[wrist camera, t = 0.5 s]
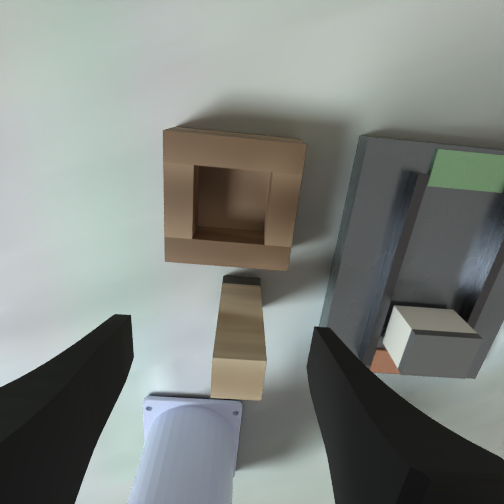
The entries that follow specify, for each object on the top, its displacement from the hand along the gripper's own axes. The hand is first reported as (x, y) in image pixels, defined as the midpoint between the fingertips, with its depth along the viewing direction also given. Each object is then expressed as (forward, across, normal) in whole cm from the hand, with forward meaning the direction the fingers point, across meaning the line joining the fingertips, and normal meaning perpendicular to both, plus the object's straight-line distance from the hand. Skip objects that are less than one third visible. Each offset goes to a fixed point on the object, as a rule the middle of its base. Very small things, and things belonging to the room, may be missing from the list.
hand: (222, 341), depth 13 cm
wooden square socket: (+9, 0, -4) cm, 10 cm away
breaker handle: (+8, -13, +4) cm, 15 cm away
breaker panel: (+9, -13, 0) cm, 16 cm away
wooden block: (+10, -1, +3) cm, 10 cm away
